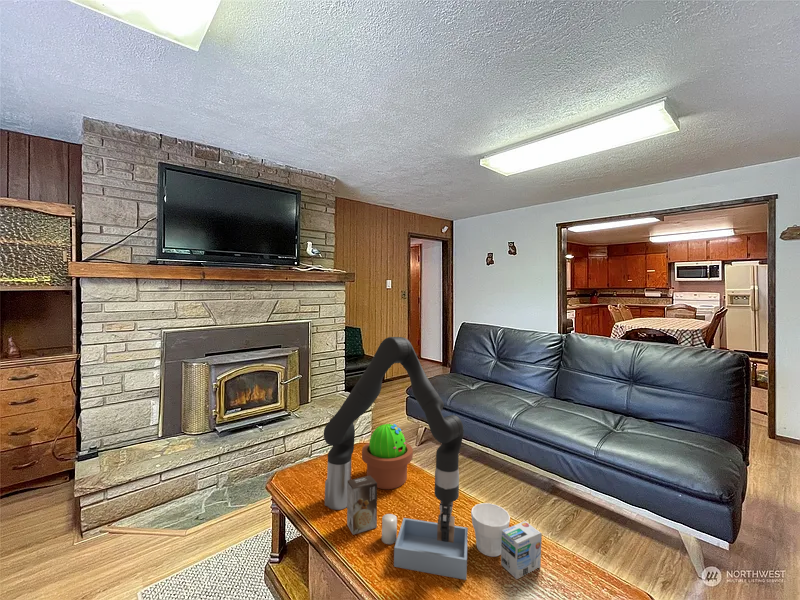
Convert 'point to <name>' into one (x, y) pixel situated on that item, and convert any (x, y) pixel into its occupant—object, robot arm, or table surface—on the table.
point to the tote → (431, 549)
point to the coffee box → (361, 504)
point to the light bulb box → (521, 549)
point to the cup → (489, 527)
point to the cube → (451, 530)
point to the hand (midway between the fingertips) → (445, 534)
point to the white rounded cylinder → (389, 529)
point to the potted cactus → (387, 456)
